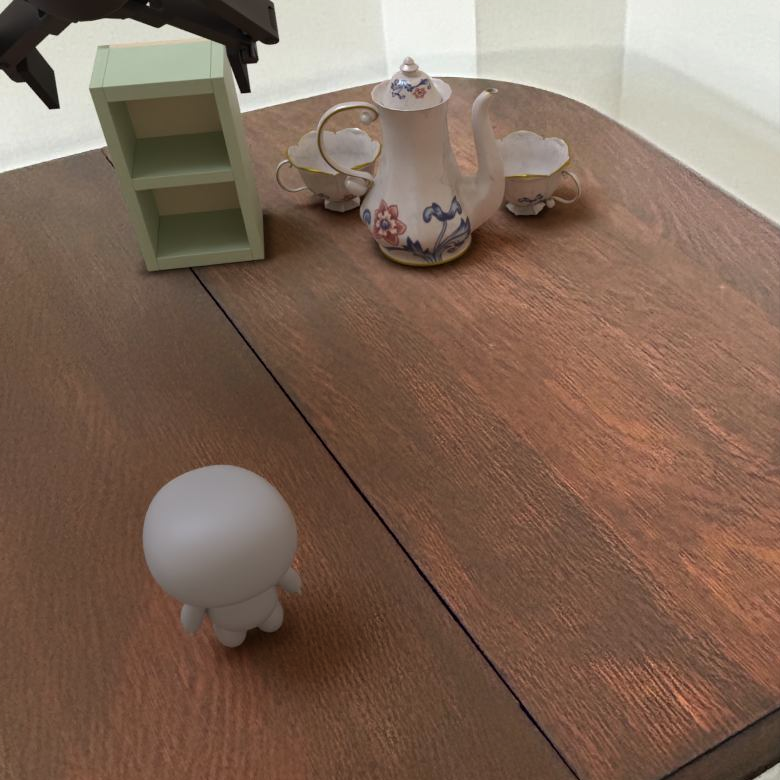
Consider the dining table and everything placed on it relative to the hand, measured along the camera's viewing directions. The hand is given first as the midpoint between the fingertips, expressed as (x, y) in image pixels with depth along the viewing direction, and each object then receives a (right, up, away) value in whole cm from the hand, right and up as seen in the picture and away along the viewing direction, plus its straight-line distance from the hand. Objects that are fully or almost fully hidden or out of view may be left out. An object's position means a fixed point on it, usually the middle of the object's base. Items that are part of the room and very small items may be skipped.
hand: (148, 82), depth 75 cm
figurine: (+11, -39, -12) cm, 43 cm away
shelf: (-2, +2, +14) cm, 14 cm away
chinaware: (+18, -4, +20) cm, 27 cm away
